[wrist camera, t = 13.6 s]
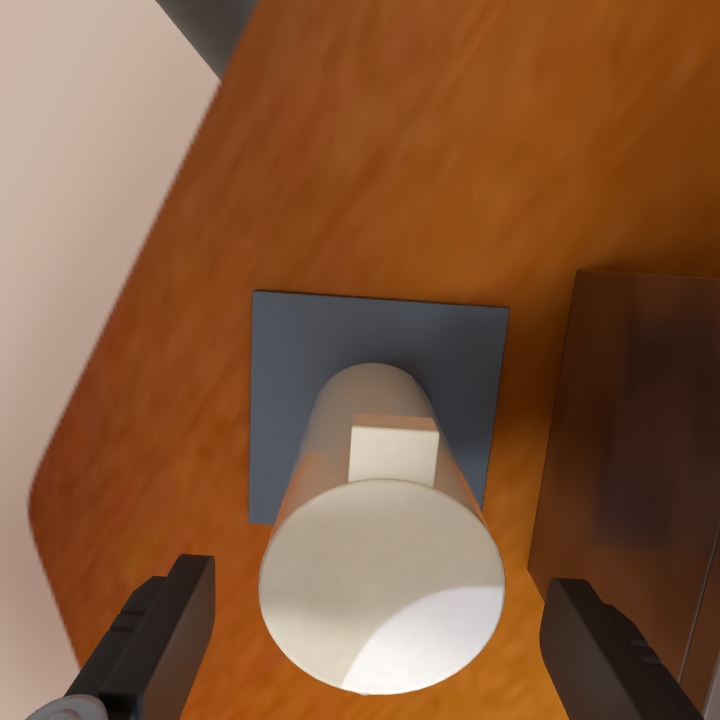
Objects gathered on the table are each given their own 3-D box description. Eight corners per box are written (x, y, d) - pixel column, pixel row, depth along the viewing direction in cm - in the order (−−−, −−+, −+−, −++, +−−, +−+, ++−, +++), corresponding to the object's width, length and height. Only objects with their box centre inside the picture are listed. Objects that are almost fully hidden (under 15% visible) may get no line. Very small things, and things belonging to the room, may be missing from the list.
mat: (254, 290, 22) (252, 291, 22) (506, 307, 22) (510, 308, 22) (250, 518, 25) (248, 523, 24) (476, 532, 25) (478, 538, 24)
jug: (315, 333, 22) (260, 422, 10) (441, 342, 22) (531, 439, 10) (305, 528, 24) (252, 783, 13) (421, 536, 24) (475, 796, 13)
